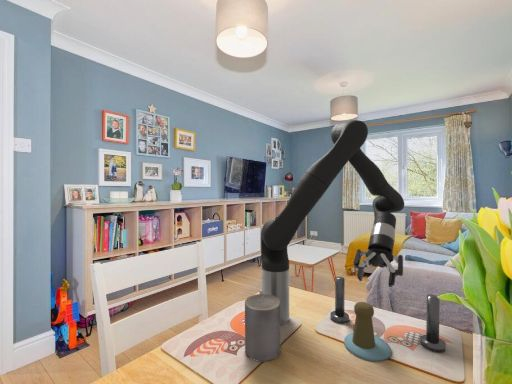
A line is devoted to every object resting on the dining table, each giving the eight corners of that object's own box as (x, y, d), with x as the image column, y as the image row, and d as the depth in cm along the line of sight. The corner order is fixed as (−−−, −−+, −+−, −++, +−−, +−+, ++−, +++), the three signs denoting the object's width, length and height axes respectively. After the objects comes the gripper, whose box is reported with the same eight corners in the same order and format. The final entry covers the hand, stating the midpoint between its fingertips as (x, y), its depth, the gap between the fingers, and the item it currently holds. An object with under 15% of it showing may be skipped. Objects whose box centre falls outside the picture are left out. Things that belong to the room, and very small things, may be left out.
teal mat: (338, 350, 72) (338, 347, 72) (350, 330, 81) (350, 328, 81) (387, 367, 65) (387, 364, 65) (394, 343, 75) (394, 340, 75)
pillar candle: (254, 336, 78) (254, 287, 78) (285, 345, 74) (285, 292, 73) (238, 356, 69) (237, 300, 69) (272, 367, 65) (271, 307, 65)
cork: (378, 350, 70) (378, 309, 70) (354, 347, 71) (354, 307, 71) (372, 337, 76) (372, 300, 76) (350, 335, 77) (350, 298, 77)
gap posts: (327, 320, 88) (328, 278, 87) (333, 313, 93) (333, 273, 92) (445, 355, 69) (446, 303, 69) (445, 344, 74) (446, 295, 74)
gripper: (358, 230, 91) (348, 272, 82) (404, 235, 83) (399, 281, 74) (361, 243, 96) (353, 283, 87) (406, 248, 88) (402, 293, 79)
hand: (374, 282), depth 80 cm, fingers open, 8 cm apart
